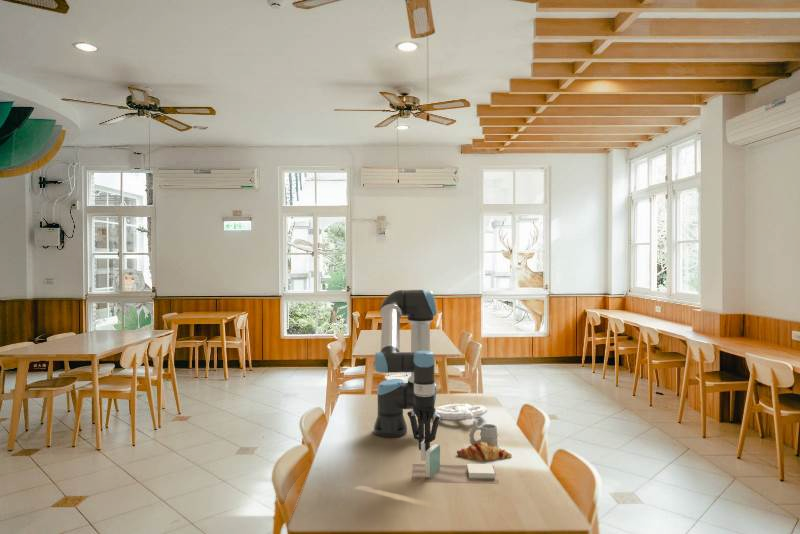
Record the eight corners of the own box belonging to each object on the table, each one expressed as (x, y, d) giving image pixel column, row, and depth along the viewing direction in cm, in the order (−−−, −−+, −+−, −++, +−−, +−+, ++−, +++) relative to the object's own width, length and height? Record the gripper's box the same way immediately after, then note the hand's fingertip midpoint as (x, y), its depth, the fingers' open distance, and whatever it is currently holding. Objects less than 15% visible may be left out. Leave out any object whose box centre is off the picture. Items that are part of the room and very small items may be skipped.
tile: (435, 468, 182) (434, 443, 181) (440, 469, 181) (439, 444, 181) (425, 476, 174) (425, 451, 174) (430, 477, 174) (430, 452, 173)
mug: (499, 454, 198) (499, 424, 198) (469, 453, 199) (469, 423, 199) (497, 447, 205) (497, 418, 205) (469, 446, 207) (469, 417, 207)
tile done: (467, 469, 181) (467, 463, 181) (491, 469, 180) (491, 464, 180) (468, 478, 173) (468, 472, 173) (494, 479, 172) (494, 473, 172)
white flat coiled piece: (421, 421, 245) (420, 408, 245) (450, 412, 262) (449, 400, 263) (468, 426, 226) (466, 411, 227) (495, 416, 243) (494, 402, 244)
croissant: (510, 465, 195) (508, 444, 199) (514, 463, 186) (513, 440, 190) (456, 463, 196) (456, 442, 200) (458, 460, 187) (457, 438, 191)
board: (412, 467, 185) (412, 464, 185) (493, 468, 184) (493, 465, 184) (411, 485, 170) (411, 481, 170) (499, 487, 169) (499, 483, 169)
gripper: (403, 394, 179) (403, 459, 179) (436, 399, 172) (436, 466, 172) (412, 389, 185) (413, 452, 185) (444, 394, 179) (445, 459, 179)
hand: (424, 459), depth 179 cm, fingers closed
